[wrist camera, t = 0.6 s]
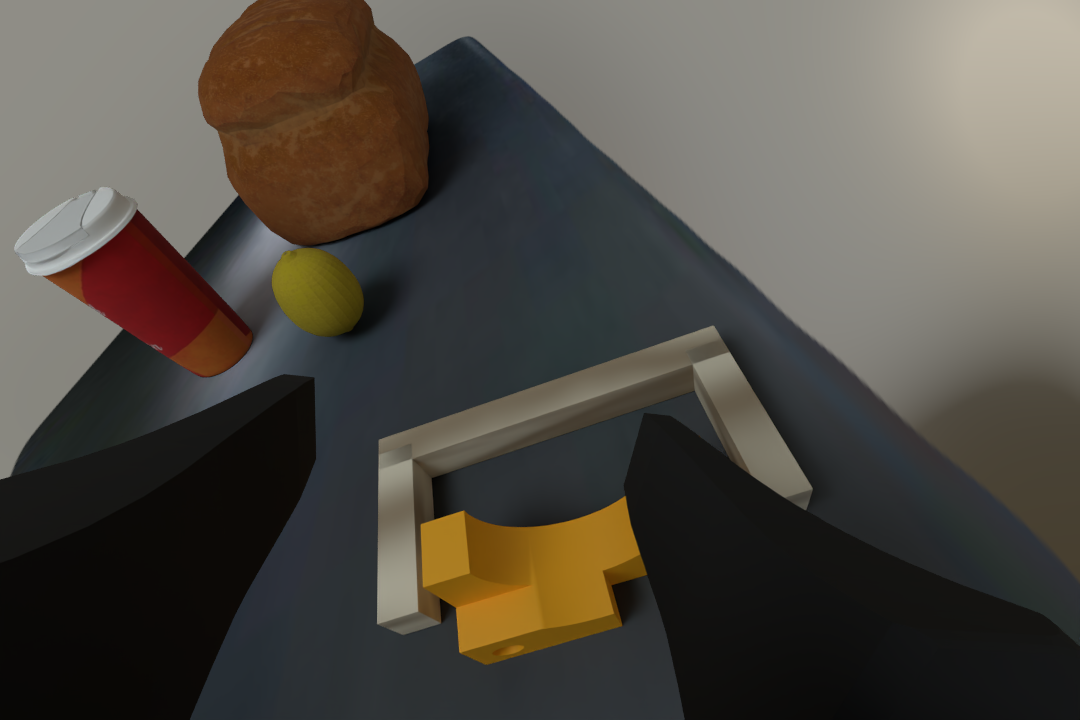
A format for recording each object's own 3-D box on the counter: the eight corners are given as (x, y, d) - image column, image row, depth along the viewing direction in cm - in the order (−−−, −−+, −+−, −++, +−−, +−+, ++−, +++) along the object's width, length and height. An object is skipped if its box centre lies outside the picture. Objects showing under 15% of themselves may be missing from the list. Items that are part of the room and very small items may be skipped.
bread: (278, 267, 50) (125, 96, 37) (311, 158, 64) (208, 6, 51) (445, 210, 48) (344, 8, 35) (441, 110, 62) (368, -60, 49)
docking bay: (805, 511, 23) (813, 488, 22) (403, 634, 25) (377, 624, 23) (714, 353, 30) (713, 325, 28) (399, 459, 32) (379, 439, 30)
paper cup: (198, 330, 47) (45, 202, 36) (273, 307, 46) (137, 169, 35) (168, 399, 42) (-21, 275, 31) (251, 376, 41) (85, 238, 30)
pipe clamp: (487, 665, 23) (424, 636, 19) (477, 570, 26) (420, 524, 21) (744, 591, 22) (749, 540, 18) (705, 500, 25) (699, 436, 20)
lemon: (345, 300, 43) (284, 224, 37) (394, 308, 41) (337, 228, 35) (305, 350, 41) (232, 278, 35) (355, 362, 38) (286, 286, 32)
